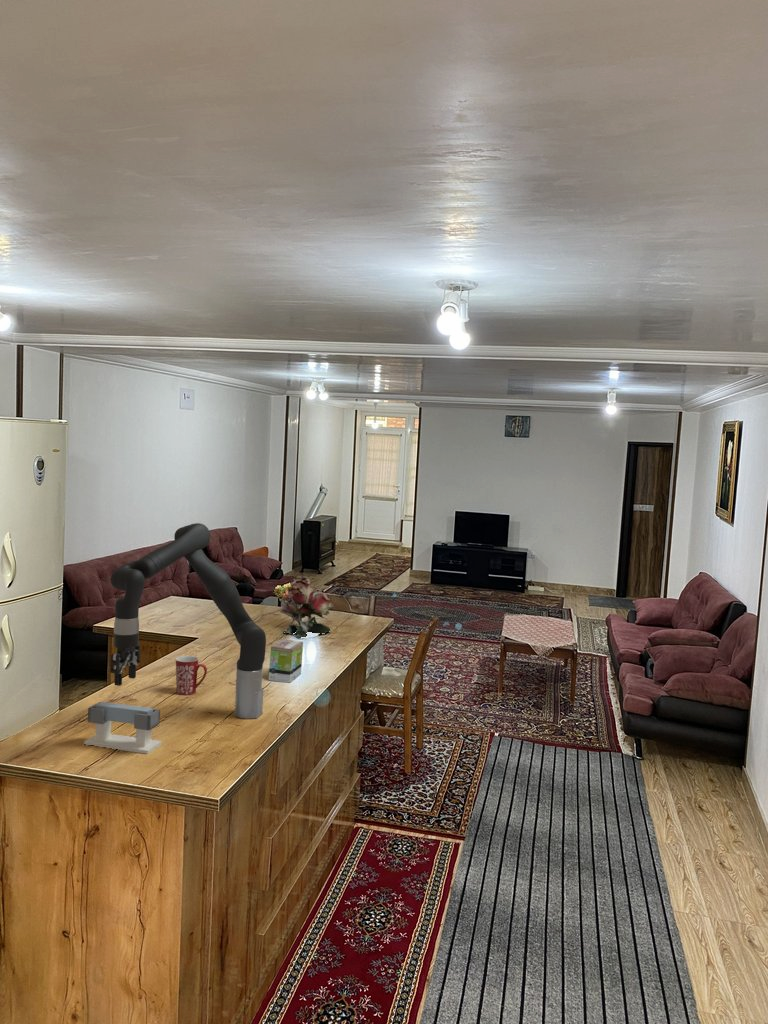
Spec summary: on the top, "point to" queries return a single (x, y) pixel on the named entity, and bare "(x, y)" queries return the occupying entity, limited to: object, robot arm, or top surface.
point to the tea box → (285, 660)
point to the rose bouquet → (305, 607)
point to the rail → (122, 712)
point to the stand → (126, 743)
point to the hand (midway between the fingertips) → (125, 681)
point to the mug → (188, 674)
